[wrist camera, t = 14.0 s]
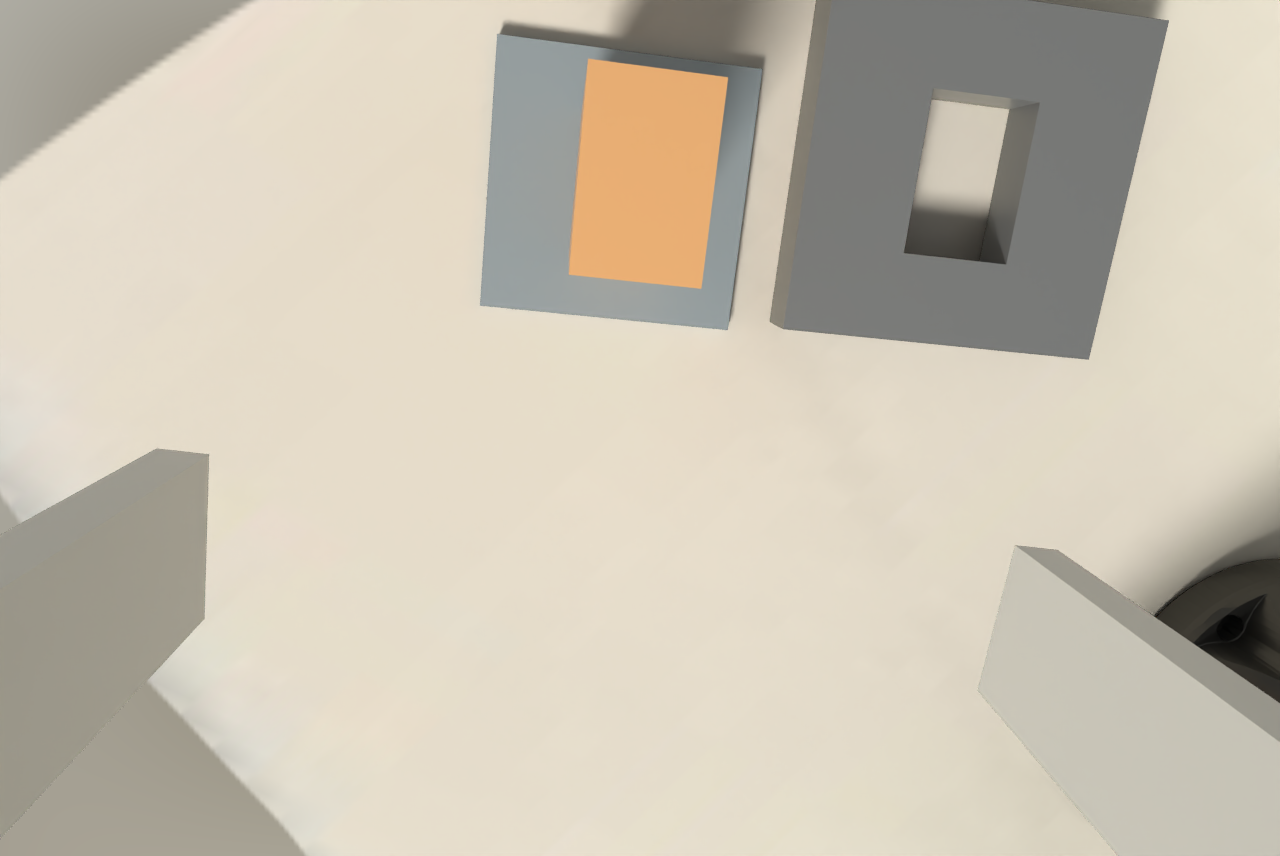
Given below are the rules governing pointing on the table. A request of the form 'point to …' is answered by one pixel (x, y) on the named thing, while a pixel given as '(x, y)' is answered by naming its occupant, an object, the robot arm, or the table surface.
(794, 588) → the table surface
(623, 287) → the rubber mat
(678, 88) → the plug
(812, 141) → the gray slotted square plate
